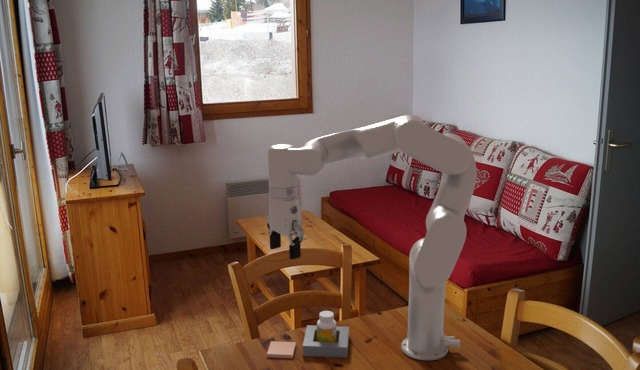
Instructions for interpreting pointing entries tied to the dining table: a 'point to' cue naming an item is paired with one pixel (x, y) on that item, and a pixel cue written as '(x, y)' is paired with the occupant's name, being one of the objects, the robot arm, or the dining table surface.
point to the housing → (326, 343)
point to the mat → (281, 349)
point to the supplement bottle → (326, 327)
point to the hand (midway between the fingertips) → (285, 253)
